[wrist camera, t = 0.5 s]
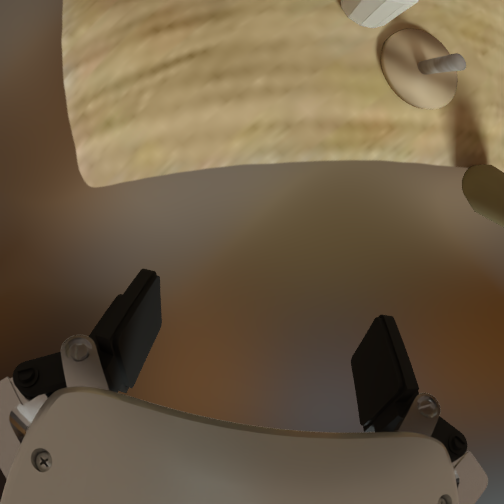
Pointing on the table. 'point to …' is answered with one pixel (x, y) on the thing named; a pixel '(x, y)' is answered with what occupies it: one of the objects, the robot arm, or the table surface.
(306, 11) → the table surface
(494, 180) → the squeeze bottle
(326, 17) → the table surface
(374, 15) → the paper roll
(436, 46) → the roll stand
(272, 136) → the table surface
